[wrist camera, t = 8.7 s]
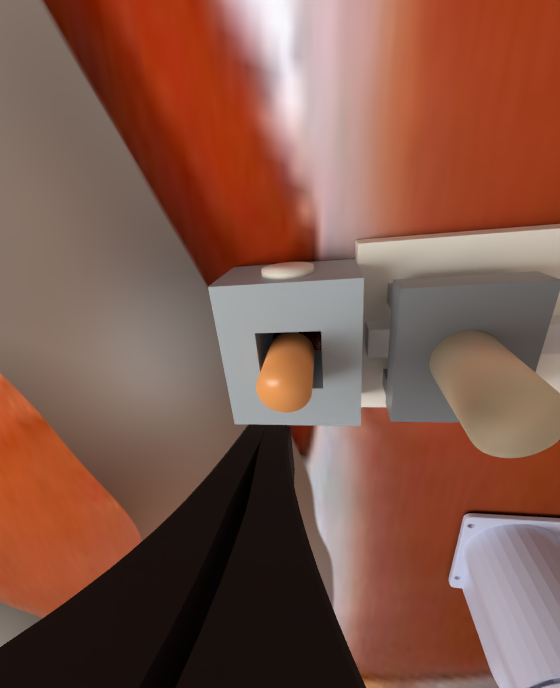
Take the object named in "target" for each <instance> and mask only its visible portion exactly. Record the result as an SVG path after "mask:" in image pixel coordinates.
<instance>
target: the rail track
mask: <svg viewBox="0 0 560 688" xmlns="http://www.w3.org/2000/svg"><path fill="white" fill-rule="evenodd" d="M355 260H356V262H357V264H358V266H359V268H360V270H361V273H362V275H363V277H364V298H363V342H362V386H361V407H386V403H385V401H386V394H385V391H384V388H383V384H382V380H383V369H388V353H389V338H390V322H391V309H390V307H389V305H388V303H387V291H388V283H393V279H410V278H427V277H444V276H462V275H479V274H497V273H514V272H531V271H539V272H541V273H544V274H547V275H550V276H553V277H555V278H558V279H560V224H551V225H538V226H526V227H513V228H500V229H487V230H475V231H462V232H449V233H437V234H424V235H411V236H399V237H386V238H373V239H361V240H355ZM535 373H537V374H538V375H539V376H540V377H541V378H542V379H544V380H545V381H546V382H547V383H548V384H550V385H551V386H552V387H553V388H554V389H556V390H557V391H558V392H559V393H560V292H559V295H558V298H557V302H556V305H555V308H554V312H553V315H552V318H551V322H550V325H549V329H548V332H547V335H546V339H545V342H544V345H543V349H542V352H541V355H540V359H539V362H538V365H537V369H536V372H535Z"/></svg>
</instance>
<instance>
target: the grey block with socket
mask: <svg viewBox="0 0 560 688" xmlns="http://www.w3.org/2000/svg"><path fill="white" fill-rule="evenodd" d="M208 289H209V294H210V299H211V304H212V310H213V314H214V319H215V325H216V330H217V334H218V340H219V345H220V351H221V356H222V361H223V366H224V371H225V376H226V381H227V386H228V391H229V397H230V402H231V407H232V412H233V417H234V422H235V424H262V425H324V426H361V386H362V342H363V298H364V277H363V275H362V273H361V270H360V268H359V266H358V264H357V262H356V260H355V259H343V260H329V261H314V262H285V263H277V264H271V265H256V266H242V267H234V268H232V269H231V270H230V271H228V272H227V273H226V274H224V275H223V276H222V277H221V278H219V279H218V280H217V281H215V282H214V283H213V284H211V285H210V286H209V287H208ZM310 331H321V342H322V349H320V350H315V357H314V371H313V385H312V395H311V399H310V401H309V402H308V403H307V405H306V406H305V407H303V408H302V409H300V410H298V411H295V412H289V413H284V412H278V411H275V410H272V409H270V408H269V407H267V406H266V405H265V404H264V403H263V402H262V401H261V400H260V398H259V397H258V394H257V390H256V384H257V380H258V377H259V375H260V372H261V369H262V367H263V364H264V361H265V358H266V356H267V353H268V350H269V348H270V345H271V343H272V341H273V340H274V337H273V333H280V332H310Z"/></svg>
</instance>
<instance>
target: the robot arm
mask: <svg viewBox="0 0 560 688" xmlns="http://www.w3.org/2000/svg"><path fill="white" fill-rule="evenodd" d="M292 451H293V450H292V440H291V430H290V427H288V426H287V425H259V424H249V425H248V426H247V427H246V429H245V430H244V431H243V432H242V434H241V435H240V436H239V438H238V439H237V440H236V442H235V443H234V444H233V446H232V447H231V448H230V449H229V451H228V452H227V453H226V454H225V456H224V457H223V458H222V459H221V461H220V462H219V463H218V464H217V466H216V467H215V468H214V469H213V470H212V472H211V473H210V474H209V475H208V476H207V477H206V478H205V479H204V481H203V482H202V483H201V484H200V485H199V486H198V487H197V488H196V489H195V490H194V491H193V493H192V494H191V495H190V496H189V497H188V498H187V499H186V500H185V501H184V502H183V503H182V504H181V505H180V506H179V507H178V508H177V509H176V511H174V512H173V513H172V514H171V515H170V516H169V517H168V518H167V519H166V520H165V521H164V522H163V523H162V524H161V525H160V526H159V527H158V528H157V529H156V530H154V531H153V532H152V533H151V534H150V535H149V536H148V537H147V538H146V539H144V540H143V541H142V542H141V543H140V544H139V545H137V546H136V547H135V548H134V549H133V550H132V551H131V552H129V553H128V554H127V555H126V556H125V557H123V558H122V559H121V560H120V561H119V562H117V563H116V564H115V565H114V566H113V567H111V568H110V569H109V570H107V571H106V572H105V573H104V574H102V575H101V576H100V577H98V578H97V579H96V580H94V581H93V582H92V583H91V584H89V585H88V586H87V587H85V588H84V589H83V590H81V591H80V592H79V593H77V594H76V595H75V596H74V597H72V598H71V599H69V600H68V601H67V602H65V603H64V604H63V605H61V606H60V607H58V608H57V609H56V610H54V611H53V612H51V613H50V614H49V615H47V616H46V617H44V618H43V619H41V620H40V621H38V622H37V623H35V624H34V625H32V626H31V627H29V628H28V629H26V630H25V631H24V632H22V633H20V634H19V635H18V636H16V637H15V638H13V639H12V640H10V641H9V642H7V643H6V644H4V645H3V646H1V647H0V688H366V686H365V684H364V682H363V680H362V677H361V675H360V673H359V671H358V668H357V666H356V664H355V661H354V659H353V657H352V654H351V652H350V650H349V647H348V645H347V642H346V640H345V638H344V635H343V633H342V630H341V628H340V625H339V623H338V621H337V618H336V616H335V613H334V610H333V608H332V605H331V602H330V600H329V597H328V595H327V592H326V589H325V587H324V584H323V581H322V579H321V576H320V573H319V570H318V568H317V565H316V562H315V559H314V556H313V553H312V550H311V547H310V544H309V541H308V537H307V534H306V531H305V528H304V524H303V520H302V517H301V513H300V509H299V505H298V501H297V497H296V493H295V488H294V460H293V452H292ZM448 580H449V584H450V585H451V586H452V587H455V588H462V589H463V592H464V595H465V598H466V601H467V604H468V606H469V609H470V612H471V615H472V618H473V621H474V624H475V627H476V629H477V632H478V635H479V638H480V641H481V644H482V647H483V650H484V652H485V655H486V658H487V661H488V664H489V667H490V670H491V672H492V674H493V677H494V679H495V681H496V683H497V685H498V686H499V688H560V518H547V517H529V516H512V515H495V514H477V513H468V514H466V515H464V517H463V521H462V525H461V529H460V534H459V538H458V542H457V546H456V550H455V554H454V559H453V563H452V567H451V571H450V575H449V579H448Z"/></svg>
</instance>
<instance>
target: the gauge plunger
mask: <svg viewBox="0 0 560 688" xmlns="http://www.w3.org/2000/svg"><path fill="white" fill-rule="evenodd" d="M314 357H315V350H314V346H313V344H312V342H311V341H310V340H309V339H308V338H307V337H306V336H304V335H303V334H300V333H297V332H285V333H282V334H280V335H278V336H277V337H276V338H274V340H273V341H272V343H271V345H270V348H269V350H268V353H267V356H266V358H265V361H264V364H263V367H262V369H261V372H260V375H259V377H258V380H257V384H256V390H257V394H258V397H259V398H260V400H261V401H262V402H263V403H264V404H265V405H266V406H267V407H269V408H270V409H272V410H275V411H278V412H284V413H289V412H295V411H298V410H300V409H302V408H303V407H305V406H306V405H307V403H308V402H309V401H310V399H311V395H312V385H313V371H314Z"/></svg>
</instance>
